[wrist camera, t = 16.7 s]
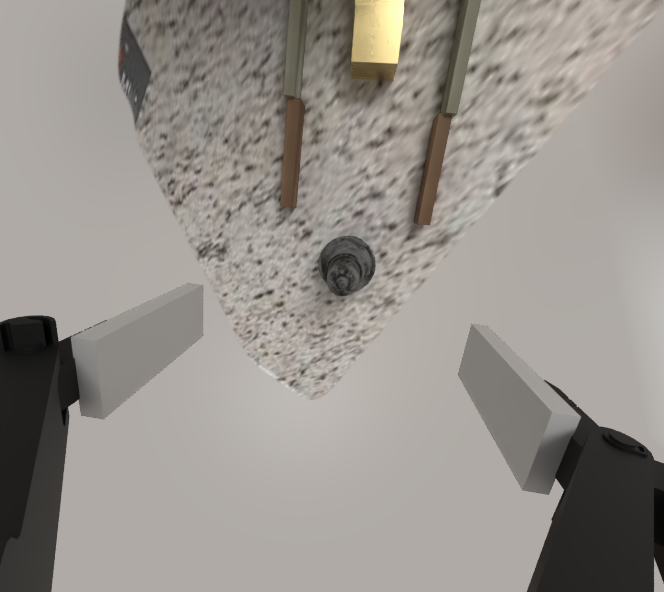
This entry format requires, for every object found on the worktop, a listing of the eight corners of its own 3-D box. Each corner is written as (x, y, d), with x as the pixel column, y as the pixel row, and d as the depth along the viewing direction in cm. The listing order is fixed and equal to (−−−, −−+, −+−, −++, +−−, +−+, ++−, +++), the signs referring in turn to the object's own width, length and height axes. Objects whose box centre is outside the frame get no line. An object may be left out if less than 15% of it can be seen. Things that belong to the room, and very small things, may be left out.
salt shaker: (381, 241, 35) (390, 259, 24) (365, 290, 37) (366, 329, 26) (330, 226, 35) (315, 237, 24) (317, 276, 37) (296, 308, 26)
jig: (282, 205, 35) (275, 205, 32) (304, -87, 28) (297, -120, 25) (427, 224, 34) (433, 225, 31) (488, -73, 27) (503, -105, 24)
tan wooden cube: (352, 79, 31) (351, 61, 27) (356, 30, 30) (355, 5, 26) (393, 80, 31) (397, 63, 27) (398, 32, 30) (404, 6, 26)
